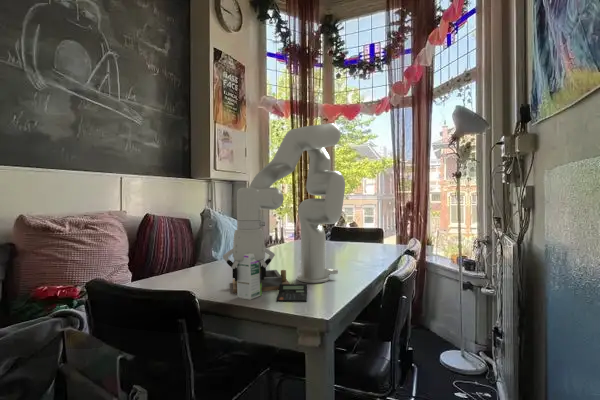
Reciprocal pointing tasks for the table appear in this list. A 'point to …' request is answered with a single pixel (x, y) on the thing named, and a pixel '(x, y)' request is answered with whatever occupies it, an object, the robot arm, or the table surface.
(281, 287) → the calculator
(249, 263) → the syrup box
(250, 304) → the table surface
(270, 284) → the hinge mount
